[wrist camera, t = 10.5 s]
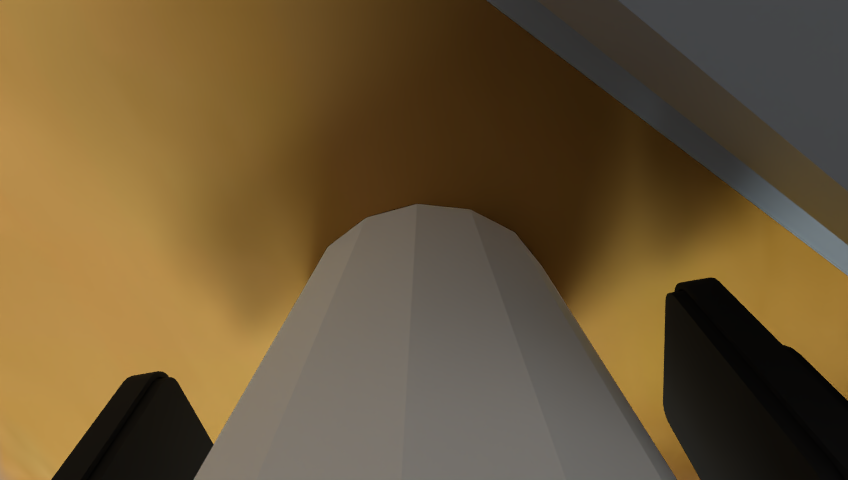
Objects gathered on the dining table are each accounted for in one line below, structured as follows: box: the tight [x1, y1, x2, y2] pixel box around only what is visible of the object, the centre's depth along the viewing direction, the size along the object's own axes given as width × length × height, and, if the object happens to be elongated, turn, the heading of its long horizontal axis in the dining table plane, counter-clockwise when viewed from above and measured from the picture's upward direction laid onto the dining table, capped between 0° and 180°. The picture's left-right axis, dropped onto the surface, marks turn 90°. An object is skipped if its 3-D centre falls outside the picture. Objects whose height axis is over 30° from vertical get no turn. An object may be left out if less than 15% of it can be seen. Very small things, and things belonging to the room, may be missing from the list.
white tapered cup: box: [194, 204, 677, 480], centre depth 8 cm, size 7×7×7 cm
